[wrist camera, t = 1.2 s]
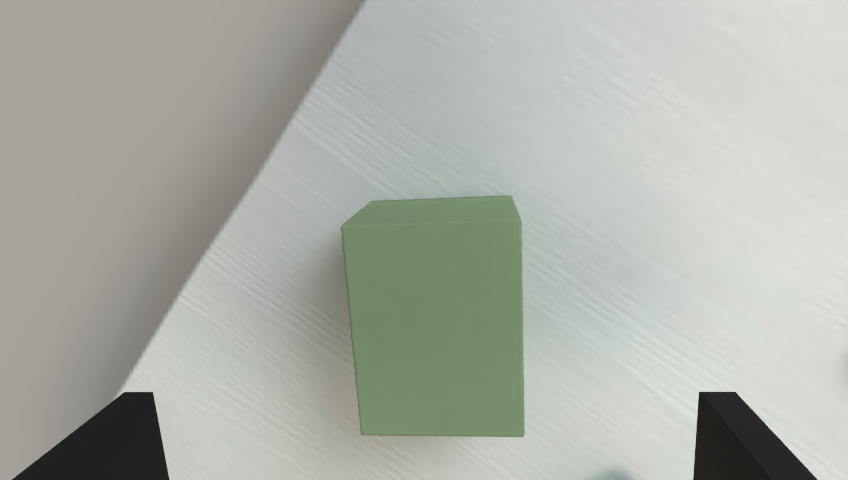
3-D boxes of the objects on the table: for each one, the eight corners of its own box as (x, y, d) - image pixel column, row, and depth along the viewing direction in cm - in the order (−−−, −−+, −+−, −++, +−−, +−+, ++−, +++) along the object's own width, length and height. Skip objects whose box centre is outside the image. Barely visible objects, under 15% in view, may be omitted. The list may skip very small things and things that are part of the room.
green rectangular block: (370, 201, 22) (340, 225, 18) (512, 195, 22) (521, 218, 17) (384, 371, 24) (360, 436, 19) (515, 371, 24) (524, 437, 19)
